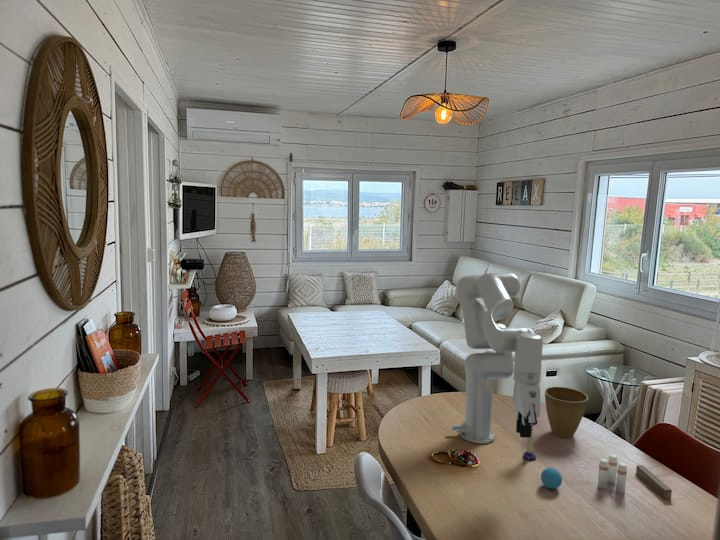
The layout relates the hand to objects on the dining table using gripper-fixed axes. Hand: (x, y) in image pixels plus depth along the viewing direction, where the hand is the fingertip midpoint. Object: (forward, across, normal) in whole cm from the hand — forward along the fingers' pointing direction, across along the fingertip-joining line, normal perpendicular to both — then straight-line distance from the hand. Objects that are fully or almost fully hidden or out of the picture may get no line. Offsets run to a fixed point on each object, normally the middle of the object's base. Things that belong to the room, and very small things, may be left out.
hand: (523, 434), depth 149 cm
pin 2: (+17, -2, -30) cm, 34 cm away
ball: (+14, 0, -10) cm, 17 cm away
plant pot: (+17, +35, -30) cm, 49 cm away
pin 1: (+17, +2, -30) cm, 34 cm away
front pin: (+17, 0, -26) cm, 31 cm away
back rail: (+17, 0, -42) cm, 45 cm away
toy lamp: (+17, +18, -10) cm, 27 cm away
